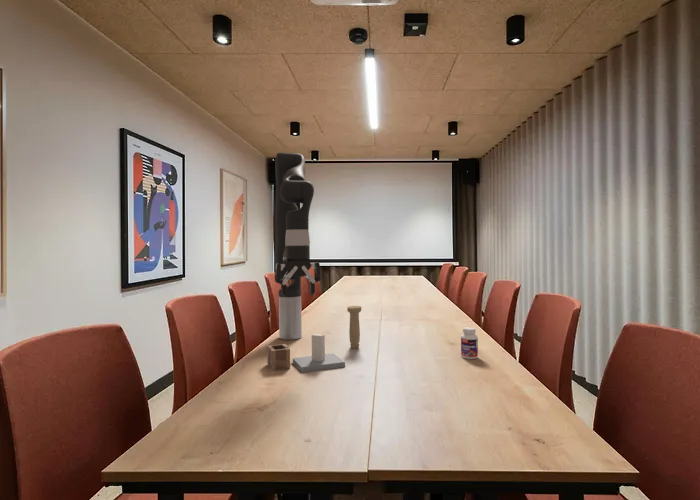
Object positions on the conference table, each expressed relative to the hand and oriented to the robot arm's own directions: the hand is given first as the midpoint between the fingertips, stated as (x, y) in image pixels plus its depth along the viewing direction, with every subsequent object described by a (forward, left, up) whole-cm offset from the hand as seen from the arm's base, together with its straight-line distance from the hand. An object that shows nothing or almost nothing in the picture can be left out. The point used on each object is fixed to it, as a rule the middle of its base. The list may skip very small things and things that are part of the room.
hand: (298, 295), depth 128 cm
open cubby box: (-3, -6, -22) cm, 23 cm away
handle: (-15, +25, -22) cm, 37 cm away
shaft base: (+1, +6, -22) cm, 23 cm away
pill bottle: (+13, +55, -22) cm, 61 cm away
